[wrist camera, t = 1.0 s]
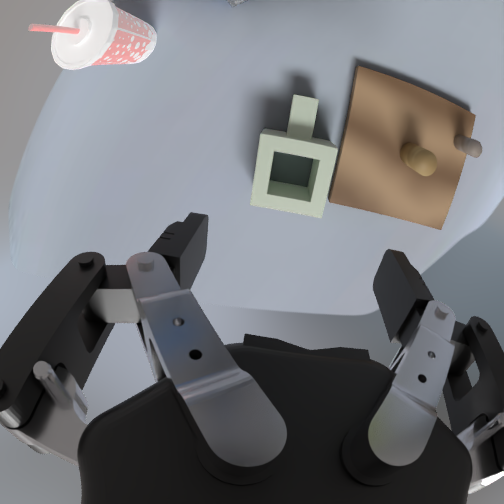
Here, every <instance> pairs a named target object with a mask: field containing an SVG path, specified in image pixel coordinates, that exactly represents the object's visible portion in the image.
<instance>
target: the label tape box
mask: <svg viewBox="0 0 504 504" xmlns="http://www.w3.org/2000/svg"><path fill="white" fill-rule="evenodd" d="M227 1H228V2H229V4H230V5H231V6H232V7H235V6H237V5H239V4H241V3H243V2H245V1H247V0H227Z"/></svg>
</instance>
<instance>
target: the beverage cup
mask: <svg viewBox="0 0 504 504" xmlns="http://www.w3.org/2000/svg"><path fill="white" fill-rule="evenodd" d="M28 30H29V31H45V32H54V33H53V36H52V46H51V51H52V55H53V58H54V61H55V62H56V63H57V64H58V65H59V66H60V67H61V68H64V69H70V70H75V69H81V68H84V67H87V66H90V65H105V64H133V63H138V62H141V61H142V60H144V59H146V58H147V57H148V56H149V55H150V54H151V53H152V51H153V50H154V47H155V45H156V43H157V34H156V32H155V29H154V28H153V27H152V26H151V25H149V24H148V23H146V22H144V21H143V20H141V19H139V18H137V17H135V16H133V15H131V14H129V13H127V12H125V11H123V10H121V9H119V8H117V7H115V4H113V3H112V2H110V1H109V0H80V1H77V2H76V3H74V4H73V5H72V6H71V7H70V8H69V9H68V10H67V11H65V13H64V14H63V16H62V17H61V19H60V20H59V21H58V23H57V25H56V26H54V25H43V24H31V25H30V26H29V28H28Z"/></svg>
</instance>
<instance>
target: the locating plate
mask: <svg viewBox="0 0 504 504" xmlns="http://www.w3.org/2000/svg"><path fill="white" fill-rule="evenodd" d="M475 116H476V115H474V114H472V113H471V112H469V111H467V110H465V109H463V108H462V107H460V106H458V105H456V104H454V103H452V102H450V101H448V100H446V99H444V98H442V97H440V96H437V95H435V94H433V93H431V92H429V91H426V90H424V89H422V88H419V87H417V86H415V85H412V84H410V83H407V82H405V81H402V80H399V79H397V78H394V77H391V76H389V75H386V74H383V73H380V72H377V71H374V70H371V69H367V68H364V67H361V66H357V67H356V69H355V75H354V81H353V87H352V92H351V98H350V103H349V108H348V113H347V118H346V123H345V128H344V133H343V137H342V142H341V146H340V151H339V155H338V160H337V164H336V168H335V173H334V177H333V181H332V185H331V189H330V193H329V197H328V200H329V202H330V203H335V204H340V205H344V206H349V207H353V208H358V209H362V210H366V211H370V212H375V213H379V214H383V215H387V216H391V217H395V218H399V219H403V220H406V221H410V222H414V223H418V224H421V225H425V226H428V227H432V228H435V229H439V230H441V229H442V226H443V224H444V221H445V219H446V216H447V214H448V211H449V208H450V205H451V203H452V200H453V197H454V194H455V191H456V188H457V185H458V182H459V179H460V176H461V172H462V169H463V166H464V162H465V158H466V155H467V154H468V155H470V156H472V157H475V158H477V157H479V156H480V155H481V153H482V146H481V144H480V142H479V141H477V140H474V139H471V135H472V130H473V126H474V121H475Z"/></svg>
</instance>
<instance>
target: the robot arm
mask: <svg viewBox="0 0 504 504" xmlns="http://www.w3.org/2000/svg"><path fill="white" fill-rule="evenodd" d="M207 233H208V215H205V214H198V213H192V212H191V213H190V214H189V215H188V216H187V218H186V219H185V220H184V222H178V221H177V222H175V223H173V224H171V225H169V226H168V227H167V228H166V230H165V231H164V233H162V234H161V236H160V238H158V239H157V241H156V242H155V243H154V244H153V246H152V247H151V248H150V249H149V251H148V252H141V253H137V254H135V255H133V256H131V257H130V258H129V259H128V260H127V262H126V265H106V264H105V259H104V257H103V255H101V254H99V253H96V252H85V253H81V254H79V255H77V256H75V257H74V258H72V259H71V260H70V261H69V263H68V264H67V265H66V266H65V267H64V268H63V269H62V270H61V271H60V273H59V274H58V275H57V276H56V277H55V278H54V279H53V281H52V282H51V283H50V284H49V285H48V286H47V288H46V289H45V290H44V291H43V292H42V294H41V295H40V296H39V297H38V299H37V300H36V301H35V302H34V304H33V305H32V306H31V307H30V309H29V310H28V311H27V312H26V314H25V315H24V316H23V318H22V319H21V321H20V322H19V323H18V325H17V326H16V327H15V329H14V330H13V331H12V333H11V334H10V335H9V337H8V338H7V340H6V341H5V343H4V344H3V346H2V347H1V349H0V424H1V425H2V426H3V427H5V428H6V429H7V430H8V431H9V432H10V433H11V434H13V435H14V436H15V437H16V438H17V439H19V440H20V441H21V442H23V443H25V444H27V445H28V446H29V447H30V448H32V449H33V450H34V451H36V452H38V453H40V454H49V453H52V454H54V455H56V456H58V457H60V458H62V459H64V460H66V461H68V462H70V463H72V464H74V465H76V466H79V470H80V476H81V485H82V500H81V504H466V502H467V496H468V493H474V492H476V491H478V490H480V489H482V488H484V487H486V486H488V485H490V484H491V483H493V482H495V481H497V480H499V479H500V478H502V477H504V352H503V350H502V348H501V346H500V344H499V342H498V340H497V338H496V336H495V334H494V332H493V331H492V329H491V327H490V326H489V324H488V323H487V322H486V321H484V320H483V319H481V318H479V317H476V316H473V317H471V318H470V320H469V322H468V323H467V324H466V325H465V324H462V323H460V322H457V321H455V315H454V313H453V311H452V310H451V309H450V308H449V307H448V306H447V305H445V304H444V303H442V302H440V301H435V300H434V298H433V296H432V295H431V293H430V291H429V289H428V288H427V286H426V285H425V282H424V281H423V280H422V277H421V275H420V274H419V272H418V271H417V270H416V269H415V268H414V267H413V266H412V265H411V264H410V262H409V260H408V259H407V257H406V256H405V254H404V253H403V252H400V251H396V250H391V249H388V250H386V252H385V254H384V256H383V259H382V261H381V263H380V266H379V268H378V271H377V273H376V275H375V278H374V282H373V291H374V294H375V296H376V299H377V302H378V305H379V308H380V311H381V314H382V317H383V320H384V323H385V326H386V329H387V333H388V336H389V339H390V342H391V343H402V346H401V347H400V349H399V350H398V352H397V354H396V355H395V357H394V359H393V361H392V362H391V364H390V366H389V367H388V368H387V367H386V366H384V365H382V364H380V363H378V362H376V361H374V360H371V359H370V357H369V353H368V350H365V349H354V348H344V347H338V348H329V349H318V350H308V349H305V348H302V347H299V346H296V345H293V344H290V343H287V342H284V341H282V340H279V339H274V338H268V337H261V336H256V335H250V334H245V336H244V342H243V343H234V344H227V345H224V344H223V342H222V341H221V339H220V338H219V336H218V335H217V333H216V331H215V330H214V328H213V327H212V325H211V324H210V322H209V320H208V319H207V317H206V315H205V314H204V312H203V311H202V309H201V307H200V305H199V304H198V302H197V300H196V299H195V297H194V295H193V294H192V292H191V291H190V289H191V287H192V285H193V282H194V280H195V278H196V276H197V274H198V272H199V269H200V267H201V265H202V263H203V261H204V258H205V254H206V247H207ZM115 323H136V327H137V330H138V332H139V336H140V338H141V341H142V344H143V347H144V349H145V352H146V355H147V358H148V360H149V363H150V366H151V370H152V373H153V376H154V379H155V382H156V383H155V384H153V385H152V386H150V387H148V388H147V389H145V390H143V391H142V392H140V393H138V394H136V395H135V396H133V397H131V398H129V399H127V400H125V401H124V402H122V403H120V404H118V405H116V406H115V407H113V408H111V409H109V410H107V411H105V412H104V413H102V414H100V415H99V416H97V417H96V418H94V419H93V420H92V421H91V422H90V423H89V424H88V425H87V423H86V415H87V410H88V402H87V399H86V397H85V395H84V394H83V392H82V389H83V387H84V385H85V383H86V381H87V379H88V376H89V374H90V372H91V370H92V368H93V366H94V364H95V362H96V360H97V358H98V356H99V354H100V352H101V350H102V348H103V346H104V344H105V342H106V340H107V338H108V336H109V334H110V332H111V330H112V329H113V327H114V325H115ZM474 361H476V363H477V366H478V369H479V372H480V377H479V380H478V382H477V384H476V385H475V386H474V387H473V388H472V386H471V383H470V380H469V377H468V374H467V372H466V370H467V369H468V368H469V367H470V365H471V364H472V363H473V362H474ZM442 391H443V394H444V398H445V402H446V406H447V411H448V415H449V420H450V424H451V429H452V431H451V430H450V429H449V428H448V427H447V426H446V425H445V424H444V423H443V422H442V421H441V420H440V419H439V418H438V417H437V412H436V407H437V404H438V401H439V398H440V396H441V393H442Z"/></svg>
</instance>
